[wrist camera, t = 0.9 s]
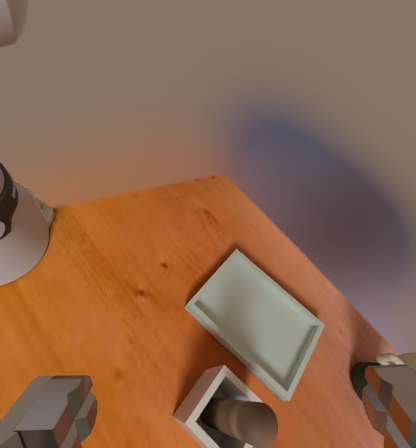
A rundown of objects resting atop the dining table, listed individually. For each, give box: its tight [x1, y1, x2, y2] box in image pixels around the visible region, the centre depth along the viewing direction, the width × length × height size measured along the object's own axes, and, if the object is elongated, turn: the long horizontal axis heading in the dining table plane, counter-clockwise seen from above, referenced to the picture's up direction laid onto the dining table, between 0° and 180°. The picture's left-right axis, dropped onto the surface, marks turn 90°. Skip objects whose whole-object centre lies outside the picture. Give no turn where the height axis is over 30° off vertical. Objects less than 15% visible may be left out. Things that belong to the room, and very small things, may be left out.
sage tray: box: [184, 249, 325, 401], centre depth 44 cm, size 20×14×2 cm
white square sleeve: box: [173, 365, 263, 448], centre depth 33 cm, size 7×7×9 cm
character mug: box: [352, 353, 416, 401], centre depth 39 cm, size 11×7×13 cm, turn 53°
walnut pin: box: [200, 397, 278, 448], centre depth 29 cm, size 3×3×16 cm
